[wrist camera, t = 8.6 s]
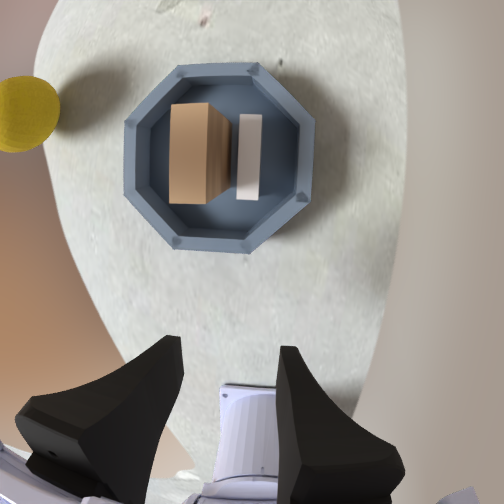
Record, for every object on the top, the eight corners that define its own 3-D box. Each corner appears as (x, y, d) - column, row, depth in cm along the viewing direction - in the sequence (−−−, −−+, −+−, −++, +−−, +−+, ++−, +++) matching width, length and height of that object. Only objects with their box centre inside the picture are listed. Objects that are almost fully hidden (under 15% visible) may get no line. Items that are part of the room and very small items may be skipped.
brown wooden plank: (230, 187, 18) (205, 204, 12) (206, 187, 18) (169, 203, 12) (232, 123, 17) (208, 102, 10) (208, 123, 17) (171, 104, 10)
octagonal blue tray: (301, 243, 20) (306, 258, 17) (144, 234, 20) (125, 246, 17) (311, 79, 16) (317, 66, 14) (147, 81, 17) (128, 71, 14)
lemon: (24, 135, 18) (-45, 139, 11) (49, 76, 17) (-19, 62, 9) (61, 161, 19) (-14, 170, 11) (90, 95, 17) (17, 79, 10)
